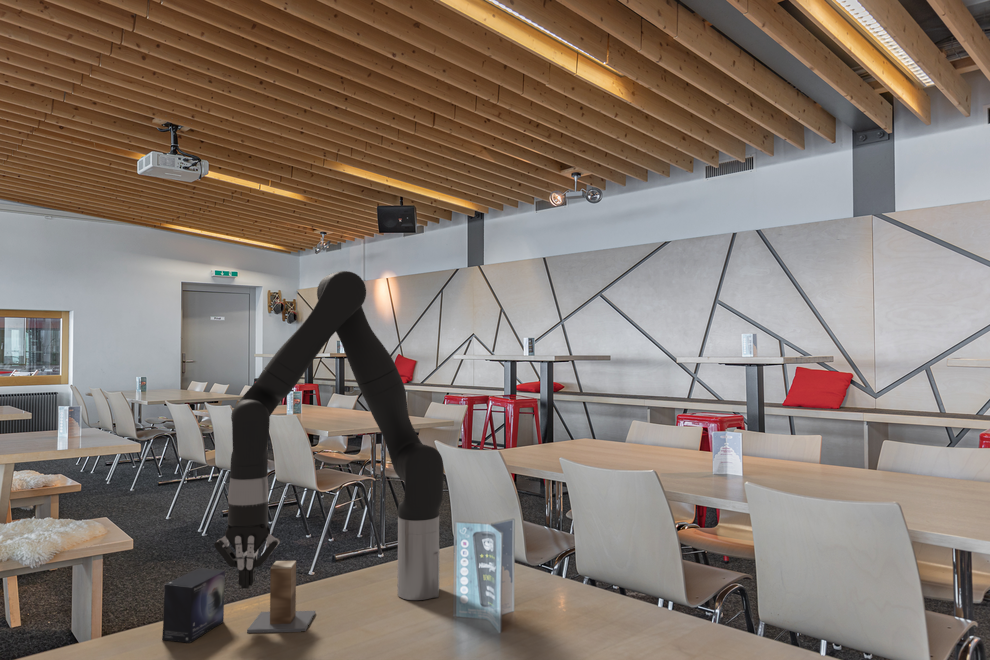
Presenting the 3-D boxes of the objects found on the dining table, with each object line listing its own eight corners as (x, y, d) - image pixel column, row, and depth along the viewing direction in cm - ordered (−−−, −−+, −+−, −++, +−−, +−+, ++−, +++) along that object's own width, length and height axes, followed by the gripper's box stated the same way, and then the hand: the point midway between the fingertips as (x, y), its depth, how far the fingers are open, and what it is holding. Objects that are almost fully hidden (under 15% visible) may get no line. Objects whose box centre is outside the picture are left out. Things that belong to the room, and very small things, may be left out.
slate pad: (315, 613, 136) (315, 610, 136) (305, 631, 127) (305, 628, 127) (261, 614, 136) (261, 611, 136) (247, 632, 127) (247, 629, 127)
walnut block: (295, 615, 134) (296, 560, 134) (290, 623, 130) (291, 566, 130) (275, 616, 133) (276, 561, 134) (269, 624, 129) (270, 567, 130)
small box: (191, 644, 122) (192, 586, 122) (160, 641, 123) (161, 584, 124) (225, 622, 132) (226, 568, 133) (197, 619, 134) (198, 566, 134)
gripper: (286, 495, 136) (285, 580, 135) (221, 495, 136) (219, 581, 135) (276, 503, 129) (275, 593, 128) (207, 503, 128) (205, 594, 127)
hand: (246, 587), depth 131 cm, fingers closed
